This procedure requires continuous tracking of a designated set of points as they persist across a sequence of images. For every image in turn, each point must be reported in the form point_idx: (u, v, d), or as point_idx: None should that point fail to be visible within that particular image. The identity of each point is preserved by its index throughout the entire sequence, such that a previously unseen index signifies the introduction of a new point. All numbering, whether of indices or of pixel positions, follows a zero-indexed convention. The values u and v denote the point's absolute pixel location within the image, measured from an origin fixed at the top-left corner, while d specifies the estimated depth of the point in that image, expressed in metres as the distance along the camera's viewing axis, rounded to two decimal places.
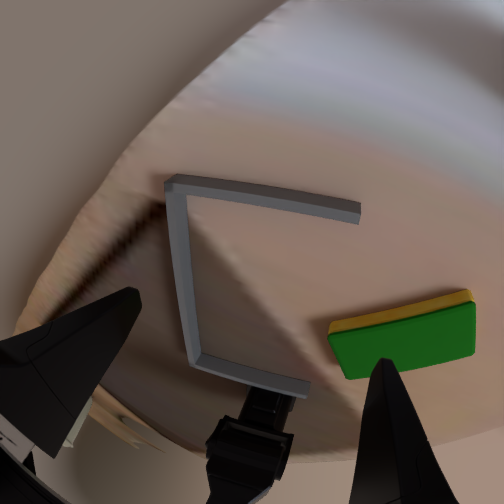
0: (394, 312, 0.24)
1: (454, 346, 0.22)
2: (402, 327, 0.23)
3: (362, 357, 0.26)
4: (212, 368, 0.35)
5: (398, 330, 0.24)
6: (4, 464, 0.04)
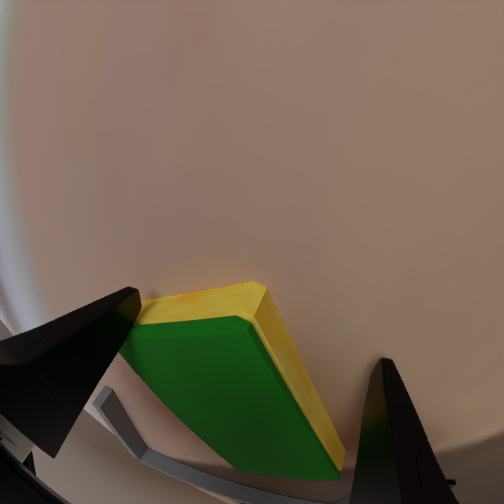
0: None
1: (210, 374, 0.10)
2: (191, 426, 0.14)
3: (271, 465, 0.14)
4: None
5: (198, 430, 0.14)
6: (4, 464, 0.04)
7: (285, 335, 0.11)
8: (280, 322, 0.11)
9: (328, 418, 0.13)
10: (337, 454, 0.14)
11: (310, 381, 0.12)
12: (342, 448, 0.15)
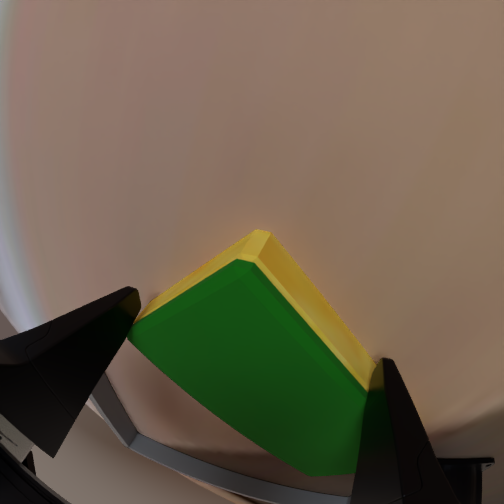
0: None
1: (233, 347, 0.09)
2: (240, 429, 0.13)
3: (341, 460, 0.12)
4: None
5: (249, 432, 0.12)
6: (3, 463, 0.04)
7: (309, 284, 0.09)
8: (299, 270, 0.09)
9: None
10: None
11: (357, 341, 0.10)
12: None
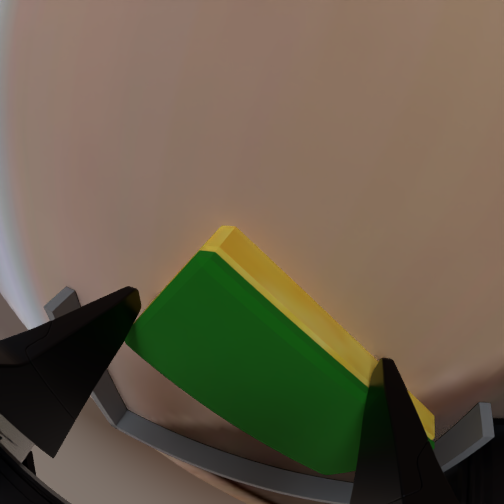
0: None
1: (213, 338, 0.10)
2: (243, 427, 0.13)
3: (349, 454, 0.12)
4: None
5: (252, 430, 0.13)
6: (3, 463, 0.04)
7: (280, 271, 0.10)
8: (268, 258, 0.10)
9: None
10: (421, 418, 0.11)
11: None
12: (427, 411, 0.11)
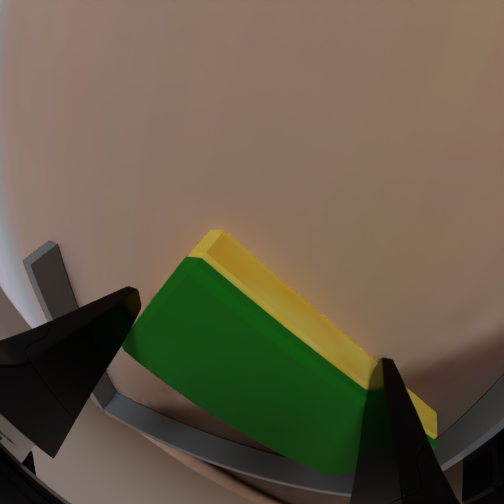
0: None
1: (206, 343, 0.10)
2: (243, 430, 0.13)
3: (350, 455, 0.11)
4: None
5: (252, 433, 0.12)
6: (3, 463, 0.04)
7: (269, 275, 0.10)
8: (257, 261, 0.10)
9: None
10: (422, 417, 0.10)
11: (335, 327, 0.10)
12: (429, 409, 0.11)
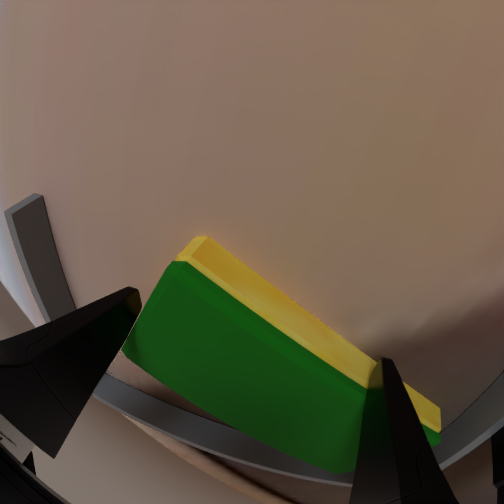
0: None
1: (198, 344, 0.10)
2: (245, 430, 0.13)
3: (354, 452, 0.11)
4: None
5: (255, 433, 0.13)
6: (4, 464, 0.04)
7: (256, 274, 0.10)
8: None
9: None
10: (423, 410, 0.10)
11: None
12: None
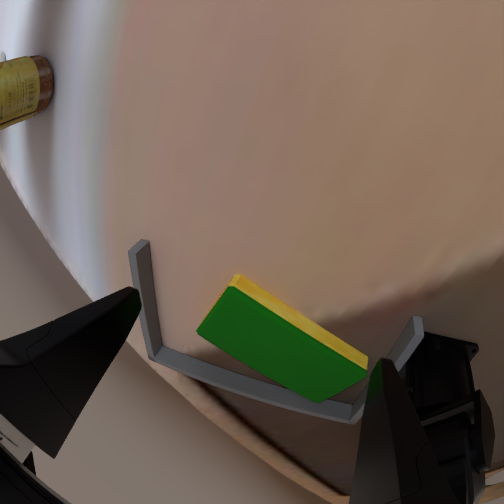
0: None
1: (239, 320, 0.24)
2: (261, 370, 0.26)
3: (320, 380, 0.25)
4: (358, 408, 0.26)
5: (267, 371, 0.26)
6: (4, 464, 0.04)
7: (262, 289, 0.24)
8: None
9: None
10: (353, 355, 0.23)
11: None
12: None
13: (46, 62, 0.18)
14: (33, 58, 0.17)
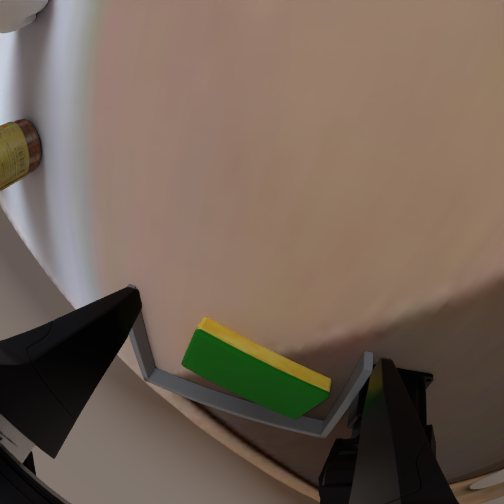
0: None
1: (210, 355, 0.27)
2: (239, 393, 0.30)
3: (289, 401, 0.28)
4: (326, 425, 0.29)
5: (244, 394, 0.29)
6: (4, 464, 0.04)
7: (226, 328, 0.27)
8: (221, 325, 0.27)
9: (288, 359, 0.27)
10: (314, 378, 0.26)
11: None
12: None
13: (32, 127, 0.22)
14: (19, 123, 0.21)
